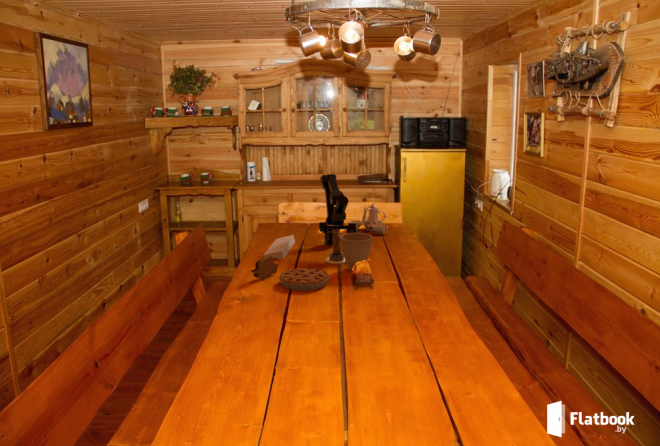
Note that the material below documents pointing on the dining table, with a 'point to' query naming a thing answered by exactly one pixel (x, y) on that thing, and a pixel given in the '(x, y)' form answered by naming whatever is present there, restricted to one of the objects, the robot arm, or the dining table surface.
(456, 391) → the dining table surface
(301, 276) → the pie
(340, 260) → the cup bracket
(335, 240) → the brown tapered rod
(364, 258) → the plant pot
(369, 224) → the chinaware
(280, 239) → the decorative molding
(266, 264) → the wooden carving
